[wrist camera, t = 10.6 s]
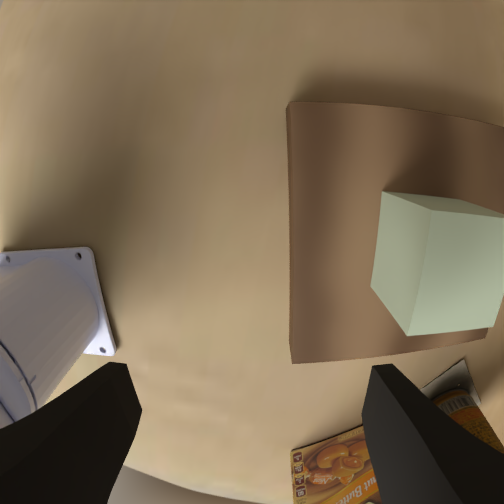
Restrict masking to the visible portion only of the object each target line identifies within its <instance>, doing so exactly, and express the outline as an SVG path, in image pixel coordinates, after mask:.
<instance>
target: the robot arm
mask: <svg viewBox="0 0 504 504" xmlns="http://www.w3.org/2000/svg"><path fill="white" fill-rule="evenodd" d="M78 253H80V254H81V256H82V258H80V257H79V256H78ZM9 257H10V258H9ZM102 347H103V348H104V349H105V350H104V349H103V348H102ZM116 351H117V349H116V345H115V342H114V339H113V335H112V332H111V328H110V324H109V320H108V317H107V313H106V309H105V305H104V301H103V297H102V292H101V288H100V283H99V279H98V274H97V269H96V264H95V259H94V254H93V251H92V250H91V249H90V248H89V247H72V248H55V249H39V250H23V251H8V252H0V504H107V502H108V499H109V496H110V493H111V491H112V488H113V486H114V483H115V481H116V479H117V477H118V474H119V472H120V470H121V467H122V465H123V463H124V461H125V458H126V456H127V454H128V452H129V449H130V447H131V445H132V442H133V440H134V438H135V435H136V431H137V428H138V425H139V421H140V417H141V413H142V408H141V405H140V403H139V400H138V397H137V394H136V391H135V389H134V386H133V383H132V380H131V377H130V374H129V371H128V368H127V364H124V363H116V362H108V363H107V364H105V365H103V366H102V367H100V368H99V369H97V370H96V371H94V372H93V373H91V374H90V375H89V376H87V377H86V378H84V379H83V380H82V381H80V382H79V383H77V384H76V385H74V386H73V387H71V388H70V389H69V390H67V391H66V392H64V393H63V394H61V395H60V396H58V397H57V398H55V399H54V400H52V401H50V402H49V403H47V404H46V405H44V404H45V402H46V401H47V400H48V398H49V397H50V395H51V394H52V393H53V391H54V390H55V389H56V387H57V386H58V385H59V383H60V382H61V380H62V379H63V378H64V376H65V375H66V374H67V372H68V371H69V370H70V369H71V367H72V366H73V365H74V363H75V362H76V361H77V359H78V358H79V357H80V355H81V354H82V353H86V354H95V355H105V356H113V355H115V353H116ZM43 405H44V406H43ZM362 421H363V428H364V435H365V441H366V445H367V449H368V453H369V456H370V460H371V464H372V467H373V471H374V475H375V478H376V482H377V486H378V489H379V493H380V497H381V501H382V504H504V454H503V453H501V452H500V451H498V450H496V449H494V448H493V447H491V446H490V445H488V444H486V443H485V442H483V441H482V440H480V439H479V438H477V437H476V436H474V435H473V434H471V433H470V432H469V431H467V430H466V429H465V428H463V427H462V426H461V425H459V424H458V423H457V422H456V421H454V420H453V419H452V418H451V417H449V416H448V415H447V414H446V413H445V412H443V411H442V410H441V409H440V408H439V407H438V406H437V405H435V404H434V403H433V402H432V401H431V400H430V399H429V398H428V397H427V396H426V395H425V394H423V393H422V392H421V391H420V390H419V389H418V388H417V387H416V386H415V385H414V384H413V383H412V382H411V381H410V380H409V379H408V378H407V377H406V376H405V375H404V374H403V373H401V372H400V371H399V370H398V369H397V368H396V367H395V366H394V365H393V364H383V365H374V366H372V369H371V374H370V379H369V384H368V388H367V393H366V397H365V401H364V406H363V410H362Z"/></svg>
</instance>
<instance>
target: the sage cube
mask: <svg viewBox="0 0 504 504" xmlns="http://www.w3.org/2000/svg"><path fill="white" fill-rule="evenodd" d="M370 286H371V288H372V289H373V290H374V292H375V293H376V294H377V296H378V297H379V298H380V300H381V301H382V302H383V304H384V305H385V306H386V308H387V309H388V310H389V312H390V313H391V315H392V316H393V317H394V319H395V320H396V321H397V323H398V324H399V326H400V327H401V328H402V330H403V331H404V332H405V334H406V335H407V336H414V335H426V334H437V333H446V332H455V331H464V330H472V329H480V328H487V327H493V326H494V323H495V320H496V317H497V314H498V311H499V308H500V305H501V301H502V298H503V294H504V214H501V213H499V212H496V211H493V210H490V209H487V208H484V207H481V206H478V205H475V204H472V203H469V202H466V201H463V200H459V199H451V198H443V197H435V196H426V195H417V194H407V193H397V192H386V191H382V195H381V207H380V217H379V226H378V235H377V243H376V251H375V259H374V266H373V272H372V279H371V285H370Z"/></svg>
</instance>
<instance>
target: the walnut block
mask: <svg viewBox="0 0 504 504" xmlns="http://www.w3.org/2000/svg"><path fill="white" fill-rule="evenodd" d="M286 122H287V148H288V181H289V236H290V313H289V344H290V352H291V359H292V364H300V363H316V362H329V361H341V360H352V359H362V358H371V357H379V356H387V355H394V354H402V353H408V352H415V351H421V350H427V349H433V348H439V347H444V346H450V345H455V344H460V343H465V342H470V341H474V340H479V339H483V338H485V337H486V334H487V331H488V327H487V328H480V329H472V330H464V331H455V332H446V333H437V334H426V335H414V336H407V335H406V334H405V332H404V331H403V330H402V328H401V327H400V326H399V324H398V323H397V321H396V320H395V319H394V317H393V316H392V315H391V313H390V312H389V310H388V309H387V308H386V306H385V305H384V304H383V302H382V301H381V300H380V298H379V297H378V296H377V294H376V293H375V292H374V290H373V289H372V288H371V286H370V285H371V279H372V272H373V266H374V259H375V251H376V243H377V235H378V226H379V217H380V207H381V195H382V191H386V192H397V193H407V194H417V195H426V196H435V197H443V198H451V199H459V200H463V201H466V202H469V203H472V204H475V205H478V206H481V207H484V208H487V209H490V210H493V211H496V212H499V213H501V214H504V127H501V126H497V125H493V124H489V123H484V122H480V121H476V120H471V119H466V118H461V117H456V116H450V115H445V114H439V113H433V112H427V111H420V110H412V109H405V108H396V107H387V106H377V105H365V104H351V103H332V102H290V103H289V104H288V106H287V108H286Z"/></svg>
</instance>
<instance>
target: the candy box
mask: <svg viewBox="0 0 504 504" xmlns="http://www.w3.org/2000/svg"><path fill="white" fill-rule="evenodd" d="M290 462H291V475H292V487H293V503H294V504H382V501H381V497H380V493H379V489H378V486H377V482H376V478H375V475H374V471H373V467H372V464H371V460H370V456H369V453H368V449H367V445H366V441H365V435H364V428H363V426H361V427H359V428H356V429H354V430H351V431H349V432H346V433H343V434H341V435H339V436H336V437H333V438H331V439H328V440H325V441H322V442H319V443H316V444H314V445H311V446H308V447H304V448H300V449H296V450H293V451H291V453H290Z"/></svg>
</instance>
